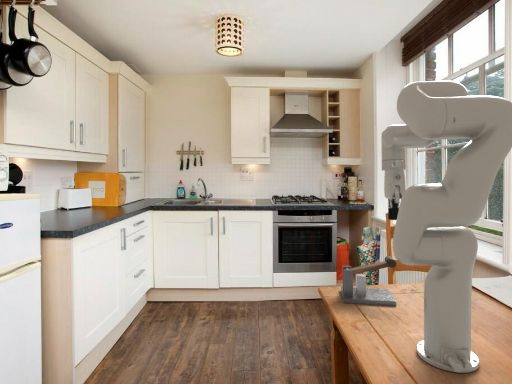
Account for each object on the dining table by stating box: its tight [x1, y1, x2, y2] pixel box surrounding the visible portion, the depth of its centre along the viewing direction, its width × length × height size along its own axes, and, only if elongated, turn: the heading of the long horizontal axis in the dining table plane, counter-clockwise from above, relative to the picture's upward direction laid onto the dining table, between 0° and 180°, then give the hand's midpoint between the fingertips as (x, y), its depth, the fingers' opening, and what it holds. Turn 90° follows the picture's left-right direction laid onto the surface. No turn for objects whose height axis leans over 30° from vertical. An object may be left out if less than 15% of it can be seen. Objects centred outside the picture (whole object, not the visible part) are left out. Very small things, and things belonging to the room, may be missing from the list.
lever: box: [347, 255, 397, 275], centre depth 111 cm, size 6×17×3 cm, turn 79°
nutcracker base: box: [340, 265, 397, 307], centre depth 112 cm, size 12×17×10 cm
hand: (393, 219), depth 107 cm, fingers closed
